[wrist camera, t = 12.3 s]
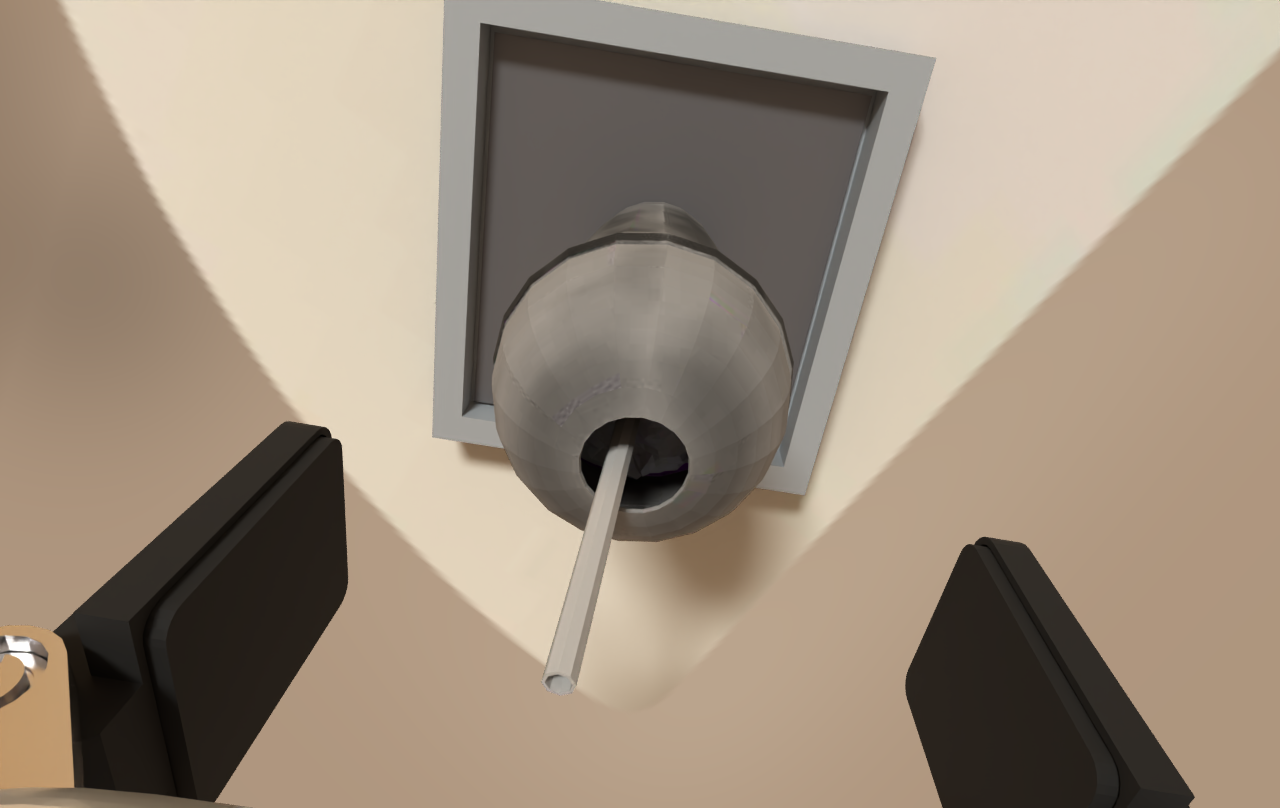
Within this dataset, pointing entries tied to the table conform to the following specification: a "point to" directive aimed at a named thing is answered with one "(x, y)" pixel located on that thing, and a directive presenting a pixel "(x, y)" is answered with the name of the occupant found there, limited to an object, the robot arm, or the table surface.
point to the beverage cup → (638, 394)
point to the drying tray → (662, 174)
